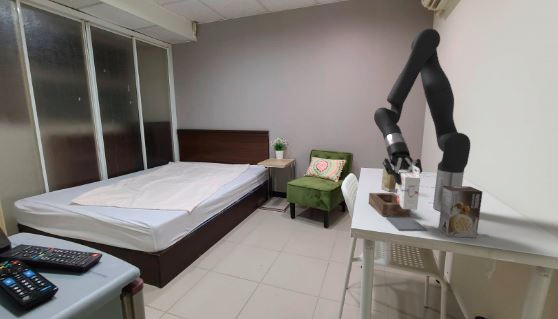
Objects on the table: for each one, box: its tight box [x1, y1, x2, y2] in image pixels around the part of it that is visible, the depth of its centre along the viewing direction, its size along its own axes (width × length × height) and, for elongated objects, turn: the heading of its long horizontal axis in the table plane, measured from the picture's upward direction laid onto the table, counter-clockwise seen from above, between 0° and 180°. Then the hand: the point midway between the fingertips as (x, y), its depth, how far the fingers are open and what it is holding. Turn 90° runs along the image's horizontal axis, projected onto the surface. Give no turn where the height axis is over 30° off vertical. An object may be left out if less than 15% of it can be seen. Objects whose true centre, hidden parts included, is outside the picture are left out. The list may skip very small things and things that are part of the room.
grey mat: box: [385, 217, 428, 231], centre depth 92 cm, size 10×10×1 cm
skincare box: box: [380, 166, 397, 193], centre depth 134 cm, size 6×4×12 cm
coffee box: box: [438, 185, 483, 239], centre depth 84 cm, size 9×6×16 cm
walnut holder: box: [368, 192, 412, 217], centre depth 106 cm, size 11×15×5 cm
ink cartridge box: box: [396, 165, 421, 210], centre depth 90 cm, size 9×5×15 cm, turn 169°
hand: (408, 183), depth 90 cm, fingers closed on ink cartridge box, 5 cm apart
